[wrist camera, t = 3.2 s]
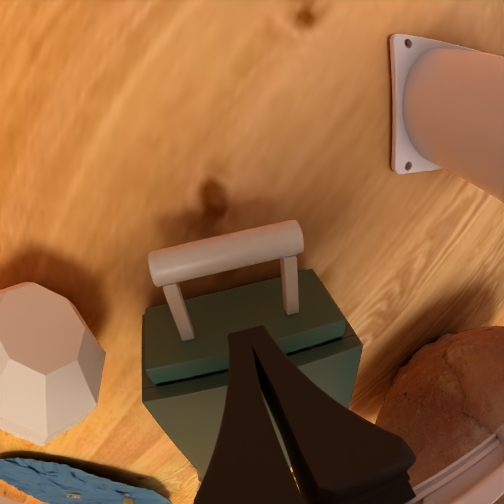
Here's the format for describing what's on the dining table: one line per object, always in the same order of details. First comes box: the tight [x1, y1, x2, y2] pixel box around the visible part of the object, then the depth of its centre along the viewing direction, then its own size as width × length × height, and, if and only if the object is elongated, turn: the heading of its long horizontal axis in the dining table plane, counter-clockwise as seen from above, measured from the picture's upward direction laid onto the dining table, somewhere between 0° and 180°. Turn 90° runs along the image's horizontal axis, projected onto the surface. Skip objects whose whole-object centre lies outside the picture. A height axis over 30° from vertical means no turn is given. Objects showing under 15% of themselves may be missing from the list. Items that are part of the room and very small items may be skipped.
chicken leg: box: [0, 282, 106, 446], centre depth 15 cm, size 8×18×8 cm, turn 142°
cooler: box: [142, 279, 363, 477], centre depth 20 cm, size 15×11×6 cm
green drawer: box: [145, 219, 346, 384], centre depth 18 cm, size 18×9×4 cm, turn 7°
